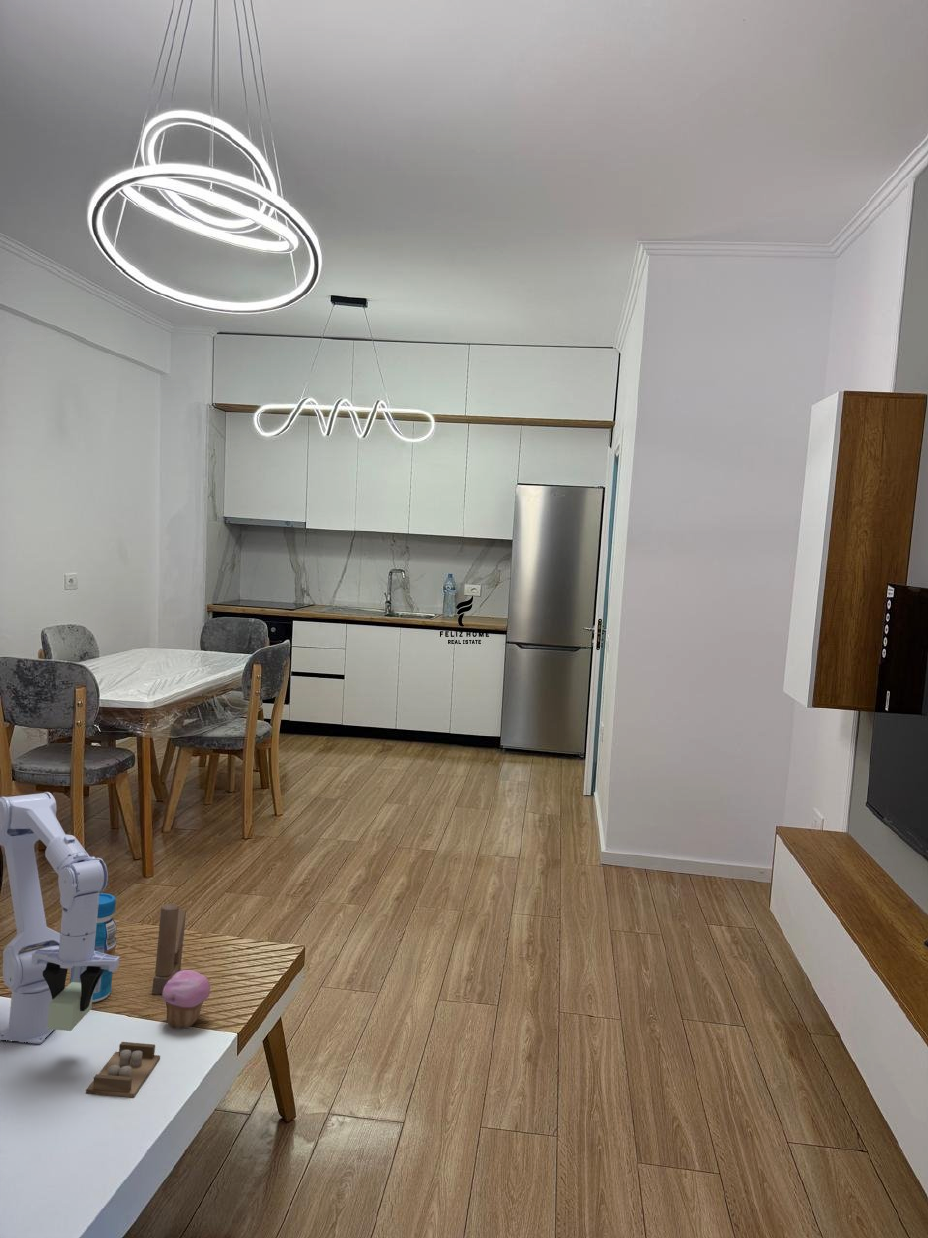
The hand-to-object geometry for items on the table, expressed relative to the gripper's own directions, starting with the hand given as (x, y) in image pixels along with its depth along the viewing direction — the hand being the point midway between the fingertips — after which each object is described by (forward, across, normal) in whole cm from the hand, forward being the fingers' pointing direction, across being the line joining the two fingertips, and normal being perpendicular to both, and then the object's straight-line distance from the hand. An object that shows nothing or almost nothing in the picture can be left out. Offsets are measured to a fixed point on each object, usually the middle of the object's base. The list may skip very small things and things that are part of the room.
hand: (71, 1007), depth 146 cm
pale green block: (+2, 0, 0) cm, 2 cm away
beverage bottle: (+10, -7, +25) cm, 28 cm away
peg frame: (+10, +11, -2) cm, 15 cm away
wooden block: (+10, +6, +33) cm, 35 cm away
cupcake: (+10, +15, +17) cm, 25 cm away
